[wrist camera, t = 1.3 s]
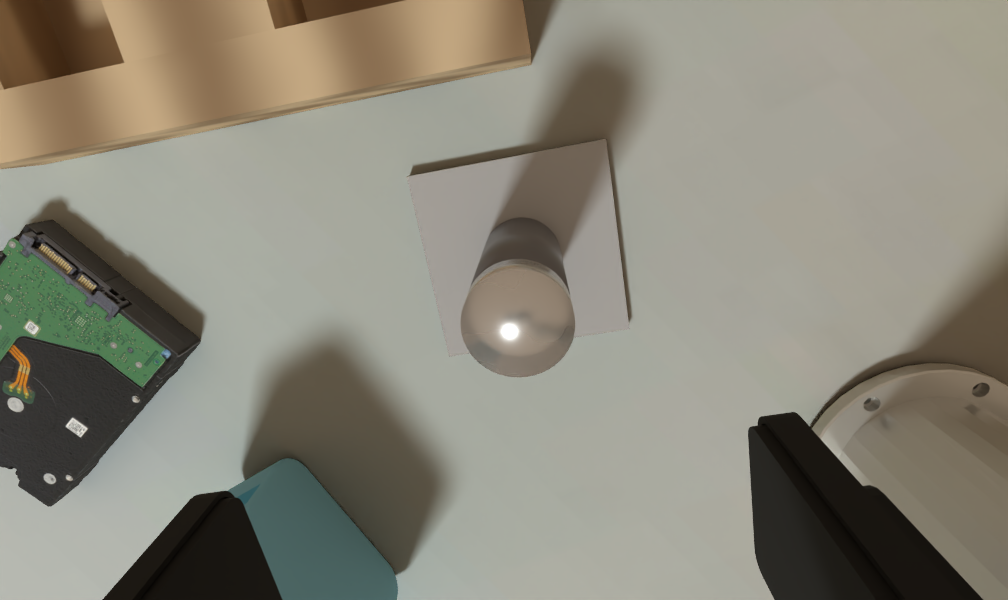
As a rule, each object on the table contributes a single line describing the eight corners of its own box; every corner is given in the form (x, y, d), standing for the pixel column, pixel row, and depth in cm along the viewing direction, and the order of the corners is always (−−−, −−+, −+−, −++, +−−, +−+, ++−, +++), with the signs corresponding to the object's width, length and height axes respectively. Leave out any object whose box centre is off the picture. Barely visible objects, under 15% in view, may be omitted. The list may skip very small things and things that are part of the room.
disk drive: (87, 481, 36) (208, 335, 32) (52, 511, 34) (179, 356, 29) (-57, 382, 34) (52, 212, 30) (-106, 405, 32) (6, 222, 27)
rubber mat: (604, 138, 27) (606, 139, 26) (627, 325, 30) (629, 329, 30) (409, 175, 28) (406, 176, 28) (450, 352, 31) (449, 356, 31)
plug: (554, 211, 28) (566, 260, 18) (566, 285, 29) (582, 368, 19) (477, 224, 28) (449, 280, 19) (491, 297, 29) (472, 384, 20)
